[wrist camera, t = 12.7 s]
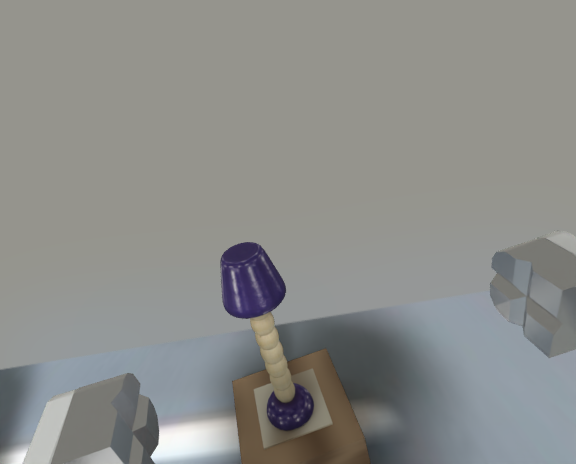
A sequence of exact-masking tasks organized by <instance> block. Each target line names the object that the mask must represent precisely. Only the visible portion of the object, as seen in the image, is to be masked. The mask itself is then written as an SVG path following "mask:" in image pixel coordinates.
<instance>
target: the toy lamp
mask: <svg viewBox="0 0 576 464" xmlns="http://www.w3.org/2000/svg"><path fill="white" fill-rule="evenodd" d="M221 284H222V298H223V304H224V307H225V309H226V311H227V312H228V313H229V314H230V315H232V316H234V317H237V318H246V319H248V318H250V322H251V327H252V329H253V330H254V332H256V333H255V337H256V341H257V343H258V345H259V346H260V353H261V356H262V358H263V359H264V361H265V367H266V370H267V372H268V373H269V374H270V381H271V384H272V385H273V387H274V391H273V392H272V393H271V395H270V397H269V399H268V403H267V416H268V419H269V421H270V422H271V424H272V425H274V426H275V427H276V428H278V429H280V430H285V431H288V430H293V429H296V428H299V427H301V426H303V425H304V424H305V423H307V421H308V420H309V419H310V417H311V415H312V414H313V410H314V401H313V398H312V396H311V394H310V393H309V392H308V390H307V389H306V388H304V387H303V386H302V385H299V384H297V383H293V382H292V381H291V373H290V371H289V369H288V368H287V366H288V364H287V360H286V357H285V356H284V355H283V347H282V345H281V343H280V341H279V334H278V331H277V329H276V328H275V326H274V318H273V315H272V314H271V311H272V310H273V309H275V308H276V307H277V306H278V305H279V304H280V303H281V302H282V300H283V299H284V297H285V293H286V287H285V283H284V281H283V279H282V278H281V276H280V274H279V273H278V271H277V270H276V268H275V266H274V265H273V263H272V262H271V260H270V258H269V257H268V255H267V254H266V252H265V251H264V249H263V248H262V247H261V246H260V245H258V244H256V243H253V242H245V243H240V244H237V245H234V246H232V247H230V248H229V249H228V250H226V251H225V252H224V254H223V255H222V258H221Z"/></svg>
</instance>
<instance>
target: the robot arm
mask: <svg viewBox="0 0 576 464" xmlns="http://www.w3.org/2000/svg"><path fill="white" fill-rule="evenodd" d="M492 268H493V269H494V270H495V271H496V273H497V274H496V276H495V277H494V278H493V280H492V281H491V283H490V296H491V298H492V301H493V304H494V306H495V308H496V309H497V310H498V312H499V313H500V314H501V315H502V316H503V317H504V318H505V319H506V320H507V321H508V322H510V323H513V324H516V325H519V326H522V327H523V332H524V336H525V337H526V338H527V339H528V340H529V341H530V342H532V343H533V344H534V345H535V346H536V347H537V348H538V349H539V350H541V351H542V352H543V353H544V354H545V355H546V356H547V357H548V358H551V357H554V356H557V355H560V354H563V353H566V352H569V351H572V350H575V349H576V236H574V235H572V234H570V233H568V232H563V231H556V232H553V233H550V234H547V235H544V236H541V237H538V238H537V239H534V240H531V241H528V242H524V243H521V244H519V245H516V246H513V247H510V248H507V249H504V250H501V251H498V252H496V253H495V255H494V256H493V258H492ZM139 390H140V383H139V381H138V380H137V379H136V377H135V376H134V374H131V373H127V374H123V375H120V376H117V377H113V378H110V379H107V380H104V381H100V382H97V383H94V384H90V385H87V386H84V387H81V388H79V389H76V390H73V391H69V392H66V393H63V394H59V395H56V396H53V397H52V398H51V399H50V400H49V401H48V402H47V404H46V406H45V409H44V411H43V414H42V416H41V419H40V421H39V424H38V426H37V429H36V431H35V434H34V436H33V439H32V441H31V444H30V447H29V449H28V452H27V454H26V457H25V459H24V462H23V464H155V463H154V462H153V460H152V459H151V457H150V456H151V455H152V453H153V452H154V450H155V449H156V447H157V445H158V441H159V426H158V418H157V414H156V411H155V408H154V406H153V404H152V402H151V401H150V399H149V398H148V397H145V396H143V395H140V394H139Z"/></svg>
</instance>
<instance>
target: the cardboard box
mask: <svg viewBox="0 0 576 464" xmlns="http://www.w3.org/2000/svg"><path fill="white" fill-rule="evenodd" d="M287 364H288V366H287V368H288V369H289V371H290V373H291V381H292V382H293V383H297V384H299V385H302V386H303V387H304V388H306V389H307V390H308V392H309V393H310V394H311V396H312V398H313V401H314V410H313V414H312V415H311V417H310V419H309V420H308V421H307V423H305V424H304V425H303V426H301V427H299V428H296V429H293V430H288V431H285V430H280V429H278V428H276V427H275V426H274V425H272V424H271V422H270V421H269V419H268V416H267V403H268V399H269V397H270V395H271V393H272V392H273V391H274V387H273V385H272V384H271V381H270V374H269V373H268V372H267V370H263V371H260V372H257V373H254V374H251V375H249V376H246V377H243V378H240V379H237V380H234V381H232V383H233V392H234V401H235V409H236V418H237V427H238V436H239V444H240V453H241V462H242V464H370V459H369V455H368V450H367V446H366V441H365V437H364V435H363V433H362V430H361V428H360V426H359V423H358V421H357V419H356V416H355V414H354V412H353V409H352V407H351V405H350V403H349V400H348V398H347V396H346V393H345V391H344V389H343V386H342V384H341V382H340V379H339V377H338V375H337V372H336V370H335V368H334V365H333V363H332V361H331V358H330V356H329V354H328V351H327V349H326V348H325V349H323V350H320V351H317V352H314V353H311V354H308V355H305V356H303V357H300V358H297V359H294V360H291V361H288V362H287Z"/></svg>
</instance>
